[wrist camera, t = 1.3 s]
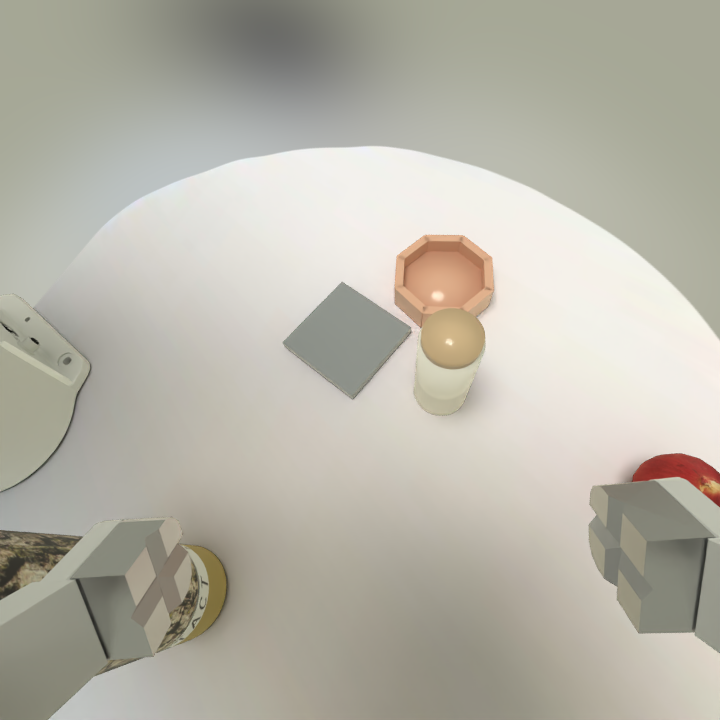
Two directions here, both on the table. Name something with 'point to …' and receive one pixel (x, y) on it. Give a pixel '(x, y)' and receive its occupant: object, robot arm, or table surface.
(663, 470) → the onion
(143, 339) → the table surface
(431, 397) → the spice jar
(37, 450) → the robot arm
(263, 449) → the table surface
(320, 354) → the slate coaster
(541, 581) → the table surface
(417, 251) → the terracotta dish
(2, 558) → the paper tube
